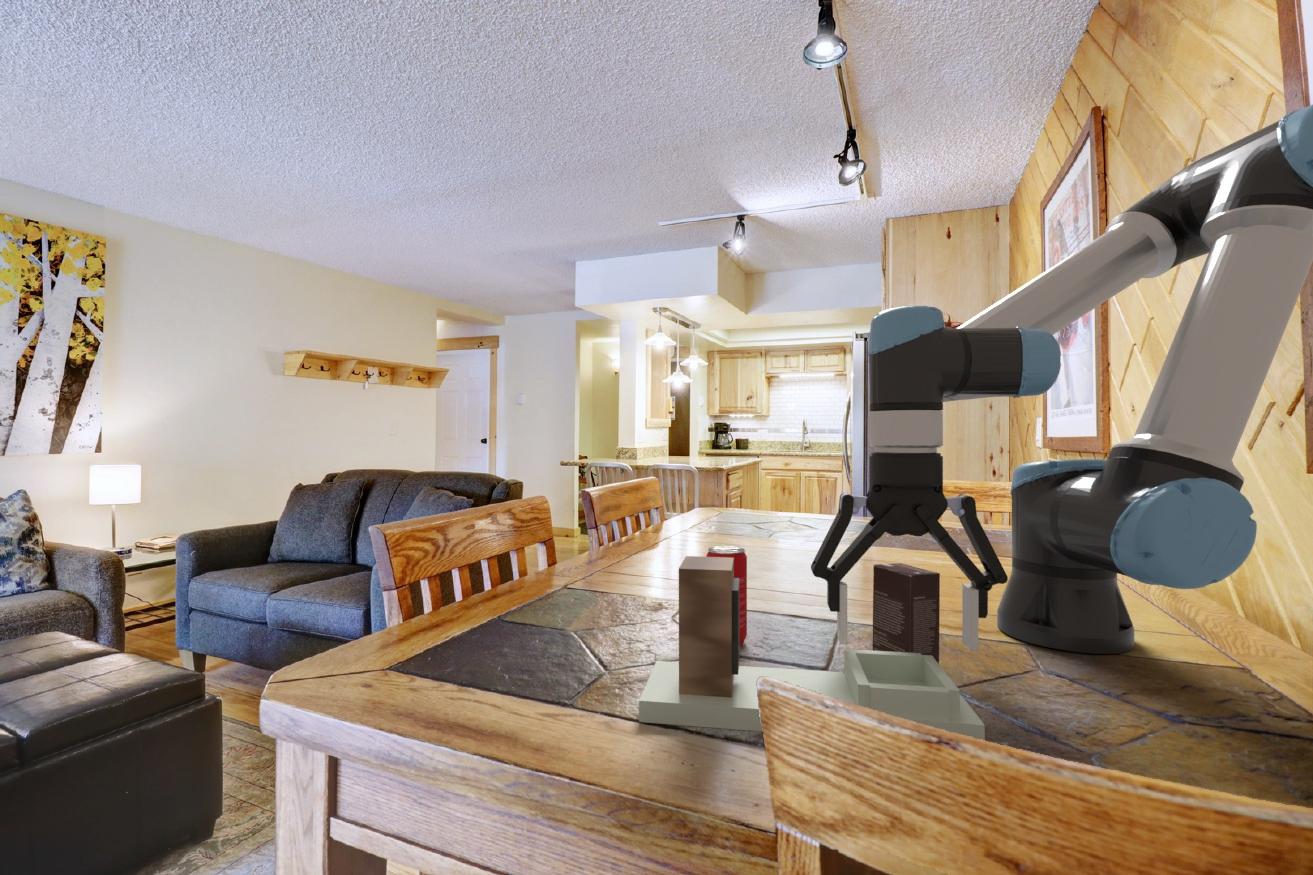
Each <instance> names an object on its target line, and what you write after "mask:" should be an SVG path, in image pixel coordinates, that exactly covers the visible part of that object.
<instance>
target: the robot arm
mask: <svg viewBox="0 0 1313 875" xmlns="http://www.w3.org/2000/svg"><path fill="white" fill-rule="evenodd" d="M1205 255H1207V257H1206V259H1205V262H1204V264H1203V266H1202V268H1201V272H1200V274H1199V276H1198V278H1197V280H1196V283H1195V286H1194V288H1193V291H1192V293H1191V296H1190V298H1189V300H1188V303H1187V304H1186V308H1185V311H1184V313H1183V314H1182V315H1183V316H1182V318H1181V320H1180V323H1179V324H1178V327H1177V330H1176V333H1175V334H1174V338H1173V340H1172V341H1171V343H1170V344H1171V345H1170V346H1169V349H1168V352H1167V353H1166V354H1167V355H1166V357H1165V359H1164V362H1163V363H1162V364H1163V365H1162V367H1161V369H1160V372H1159V374H1158V377H1157V379H1156V382H1155V384H1154V387H1153V388H1152V392H1151V393H1150V396H1149V399H1148V400H1147V403H1146V405H1145V408H1144V410H1143V413H1142V415H1141V417H1140V421H1139V423H1138V425H1137V427H1136V430H1135V432H1134V434H1133V437H1131V438H1129V439H1127V440H1123V441H1121V442H1119V443H1116V444H1114V445H1112V447H1111V449H1110V450H1109V454H1108V456H1107V459H1101V458H1100V459H1099V458H1097V459H1096V458H1095V459H1094V458H1085V459H1083V458H1082V459H1079V458H1078V459H1061V460H1060V459H1059V460H1043V461H1033V462H1032V461H1031V462H1026V463H1023V464H1020V465H1018V466H1016V468H1015V469H1014V471H1013V472H1012V480H1011V489H1010V491H1009V492H1010V496H1011V573H1010V576H1009V577H1008V575H1007V573H1006V571H1005V568H1004V567H1003V565H1002V563H1001V561H1000V559H999V557H998V555H997V553H996V551H995V550H994V548H993V545H992V543H991V540H989V537H988V536H987V534H986V531H985V530H984V528H983V526H982V524H981V522H980V520H979V517H978V513H977V506H976V500H975V498H974V497H972V496H971V495H967V494H963V493H960V494H958V495H957V496H949V497H946V496H945V493H944V468H943V467H944V456H943V455H942V454H941V453H939V452H938V449H939V448H941V447H942V446H944V420H943V419H944V417H943V416H944V415H943V413H944V412H943V411H944V404H943V403H948V402H955V401H965V400H975V399H976V400H977V399H983V398H996V397H997V398H998V397H999V398H1000V397H1001V398H1002V397H1006V398H1007V397H1008V398H1009V397H1012V398H1014V399H1017V398H1020V397H1033V396H1034V397H1037V396H1040V395H1042V394H1045V393H1047V392H1048V391H1049V390H1050V389H1051V388H1052V387H1053V386H1054V385H1055V383H1056V381H1057V380H1058V377H1059V374H1060V371H1061V366H1062V363H1061V356H1062V353H1061V348H1060V345H1059V342H1058V340H1057V339H1056V338H1055V336H1054V335H1055V334H1058V333H1059V332H1060V331H1061V330H1064V328H1066V327H1068V326H1070V325H1071V324H1072V323H1075V322H1076V321H1077V320H1079V319H1080V318H1082V317H1083V316H1085V315H1086V314H1089V312H1091V311H1093V310H1094V309H1096V308H1098V307H1100V305H1102V304H1103V303H1105V302H1107V301H1108V300H1110V299H1112V298H1113V297H1115V296H1116V295H1118V294H1119V293H1121V292H1122V291H1124V290H1126V289H1127V288H1128V287H1130V286H1132V285H1134V284H1135V283H1137V282H1138V281H1139V280H1141V279H1153V278H1158V277H1160V276H1162V275H1164V274H1165V273H1167V272H1169V271H1170V270H1171V269H1173V268H1175V267H1177V266H1179V265H1181V264H1183V263H1185V262H1187V261H1190V260H1193V259H1196V258H1199V257H1201V256H1205ZM1312 264H1313V104H1310V105H1308V106H1306V107H1304V108H1301V109H1296V110H1293V111H1290V112H1289V113H1286V114H1285V115H1284V116H1283V117H1281V119H1280V120H1277V121H1275V122H1273V123H1271V124H1269V125H1267V126H1265V127H1263V128H1261V129H1258V130H1257V131H1254V132H1253V133H1251V134H1248V135H1247V136H1245V137H1243V138H1241V139H1238V140H1236V141H1234V142H1232V143H1230V144H1227V145H1226V146H1224V147H1222V148H1220V149H1218V150H1216V151H1214V152H1212V153H1210V154H1207V155H1206V156H1202V157H1201V158H1199V159H1197V160H1196V161H1194V162H1192V163H1190V164H1188V165H1187V166H1186V167H1184V168H1182V169H1181V170H1180V171H1178V172H1177V173H1175V174H1174V175H1173V176H1171V177H1170V178H1169V179H1167V180H1166V181H1165V182H1163V183H1162V184H1160V185H1159V186H1157V187H1156V188H1154V189H1153V190H1152V191H1150V192H1149V193H1148V194H1146V195H1145V196H1144V197H1142V198H1141V199H1139V200H1138V201H1137V202H1136V203H1135V204H1133V205H1132V206H1130V207H1129V208H1127V209H1126V210H1125V211H1123V212H1121V213H1120V214H1118V215H1117V216H1115V217H1113V218H1112V219H1111V220H1110V221H1109V222H1108V223H1107V226H1106V228H1105V230H1104V233H1103V234H1101V235H1100V236H1098V237H1097V238H1095V239H1094V240H1092V241H1090V242H1088V243H1087V244H1086V245H1083V247H1081V248H1079V249H1078V250H1076V251H1075V252H1073V253H1071V254H1070V255H1069V256H1067V257H1066V258H1063V259H1062V260H1060V261H1059V262H1058V263H1056V264H1054V265H1053V266H1052V267H1050V268H1048V269H1047V270H1045V271H1044V272H1042V273H1040V274H1038V275H1037V276H1036V277H1035V278H1033V279H1031V280H1030V281H1028V282H1026V283H1025V284H1023V285H1022V286H1020V287H1018V288H1017V289H1016V290H1014V291H1013V292H1011V293H1009V294H1008V295H1006V296H1005V297H1003V298H1002V299H1000V300H998V301H997V302H995V303H994V304H992V305H991V306H989V307H988V308H985V310H983V311H981V312H979V313H978V314H977V315H975V316H973V317H972V318H971V319H969V320H968V321H966V322H963V324H961V325H960V326H958V327H951V326H946V321H945V318H944V314H943V312H942V310H941V309H940V308H938V307H934V306H927V305H908V306H907V305H906V306H898V307H891V308H888V309H885V310H882V311H879V312H878V313H877V314H875V315H874V316H873V318H872V319H871V322H870V329H869V330H870V331H869V339H868V340H869V341H868V342H869V344H868V352H867V356H868V367H869V368H868V373H869V377H868V378H869V429H868V430H869V435H868V436H869V437H868V438H869V439H868V440H869V441H868V442H869V444H868V445H869V446H870V447H871V448H874V451H873V452H870V455H868V462H869V464H868V470H869V472H868V474H869V476H868V486H869V487H868V492H867V493H866V495H865V496H863V495H852V494H849V493H848V492H842V493H841V494H840V496H839V499H838V501H839V502H838V510H837V511H838V512H837V513H836V516H835V518H834V519H833V521H832V523H831V526H830V528H829V529H828V531H827V533H826V535H825V537H824V539H823V541H822V543H821V545H820V547H819V549H818V551H817V553H816V554H815V557H814V559H813V560H812V563H811V565H810V569H811V573H812V575H813V576H814V577H815V578H820V579H823V580H825V581H826V582H827V584H826V585H827V587H826V588H827V589H826V591H827V592H826V594H827V596H826V597H827V598H826V600H827V605H828V609H829V611H830V612H833V613H834V612H835V613H836V635H837V640H838V641H839V644H840V645H848V584H847V583H846V580H845V579H844V578H845V576H846V575H847V574H848V573H849V572H850V571H851V570H852V568H853V567H854V566H855V565H856V564H857V563H858V561H859V560H861V558H863V556H864V555H865V553H867V551H868V550H869V549H870V548H871V547H872V546H873V545H874V543H875V542H877V541H878V540H879V539H881V537H883V535H884V534H885V533H886V534H889V535H890V536H894V537H896V536H897V537H900V536H905V535H909V536H912V537H923V536H924V535H926V534H928V535H929V536H931V537H932V538H933V539H934V541H935V542H936V543H937V544H938V545H939V546H940V548H942V550H943V551H944V553H945V554H947V556H949V558H950V559H951V560H952V562H954V564H955V565H956V566H957V567H958V568H959V570H961V572H962V573H963V574H964V576H966V577H967V579H968V581H970V583H962V596H961V597H962V598H961V599H962V601H961V602H962V605H961V606H962V607H961V608H962V612H961V613H962V618H961V619H962V625H961V626H962V628H961V629H962V633H961V635H962V636H961V637H962V641H961V642H962V643H963V645H964V646H965V647H967V649H968V650H969V651H970V652H979V619H987V617H988V613H989V605H988V604H989V591H991V590H992V589H993V586H994V585H999V584H1001V585H1003V584H1006V586H1005V590H1004V591H1003V594H1002V596H1001V599H1000V602H999V603H998V604H999V605H998V608H997V613H996V614H997V616H996V617H997V618H996V620H997V623H996V625H997V628H998V629H999V630H1000V631H1001V632H1003V633H1004V634H1006V635H1008V636H1009V637H1012V638H1015V639H1018V640H1019V641H1023V642H1025V643H1029V644H1033V645H1037V646H1039V647H1040V646H1041V647H1044V648H1050V649H1054V650H1060V651H1067V652H1072V653H1082V654H1099V655H1102V654H1103V655H1106V654H1107V655H1110V654H1120V653H1125V652H1129V651H1131V650H1133V649H1134V648H1135V626H1134V625H1133V622H1132V619H1131V617H1130V613H1129V611H1128V608H1127V606H1126V604H1125V601H1124V598H1123V596H1122V592H1121V589H1120V587H1119V585H1118V574H1119V575H1122V576H1126V577H1128V578H1131V579H1133V580H1135V581H1137V582H1139V583H1143V584H1147V585H1153V586H1160V587H1161V586H1163V587H1167V588H1171V589H1177V590H1195V589H1202V588H1205V587H1207V586H1209V585H1212V584H1217V583H1219V582H1221V581H1223V580H1226V579H1227V578H1228V577H1230V576H1231V575H1232V574H1234V573H1235V572H1236V571H1237V570H1238V569H1239V568H1241V566H1242V565H1243V564H1244V563H1245V561H1247V558H1248V557H1249V555H1250V554H1251V551H1252V549H1253V548H1254V545H1255V541H1256V537H1257V529H1258V527H1257V521H1256V520H1255V519H1253V518H1252V517H1251V516H1252V515H1253V514H1254V509H1253V506H1252V504H1251V503H1250V501H1249V499H1247V497H1245V495H1244V494H1242V492H1241V491H1242V488H1243V485H1244V482H1245V477H1244V476H1243V475H1242V473H1241V472H1240V471H1239V469H1238V468H1237V467H1236V466H1235V465H1234V462H1233V458H1234V456H1235V454H1236V451H1237V448H1238V446H1239V443H1240V441H1241V439H1242V437H1243V435H1244V431H1245V429H1246V426H1247V424H1248V421H1249V420H1250V417H1251V415H1252V413H1253V409H1254V407H1255V404H1256V401H1257V400H1258V397H1259V395H1260V392H1261V390H1262V387H1263V385H1264V383H1265V380H1266V378H1267V375H1268V372H1269V369H1270V368H1271V365H1272V362H1273V360H1274V358H1275V355H1276V353H1277V350H1278V348H1279V345H1280V342H1281V341H1282V338H1283V335H1284V333H1285V331H1286V328H1287V326H1288V323H1289V320H1290V318H1291V317H1292V316H1291V315H1292V314H1293V312H1294V308H1295V306H1296V303H1297V301H1298V298H1299V297H1300V294H1301V292H1302V288H1303V286H1304V284H1305V282H1306V279H1307V277H1308V274H1309V272H1310V269H1311V267H1312ZM863 507H865V508H866V510H867V511H868V512H869V514H870V515H871V519H870V520H869V522H867V524H866V525H865V527H864V528H863V530H862V531H861V532H860V533H859V534H858V536H856V538H855V539H854V540H853V541H852V542H851V543H850V544H849V546H847V548H846V549H845V550H844V551H843V552H842V554H841V555H840V556H839V557H838V558H837V559H836V560H835V561H834V562H833V564H832V565H831V566H830V567H829V564H830V562H831V560H832V558H833V557H834V554H835V553H836V550H837V549H838V547H839V545H840V542H841V540H842V539H843V537H844V534H845V533H846V531H847V528H848V527H849V525H850V522H851V520H852V519H853V517H852V516H853V515H857V514H858V513H859V512H860V510H861V509H862V508H863ZM947 509H950V511H951V513H952V514H953V515H955V516H956V517H958V519H959V523H961V527H962V528H963V529H964V531H965V534H966V535H967V538H968V539H969V541H970V543H971V545H972V548H973V550H974V552H975V553H976V555H977V557H978V559H979V561H980V564H981V565H982V567H983V569H984V571H981V570H980V569H979V568H978V566H977V565H976V564H975V563H974V562H973V561H972V560H971V559H970V558H969V556H968V555H967V553H965V552H964V550H963V549H962V548H961V547H960V546H959V544H958V543H957V542H956V541H955V540H954V539H953V538H952V536H951V535H950V533H949V532H948V531H947V530H946V529H945V527H944V526H943V525H942V523H941V522H939V520H940V518H941V517H942V516H943V515H944V514H945V512H946V511H947Z"/></svg>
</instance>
